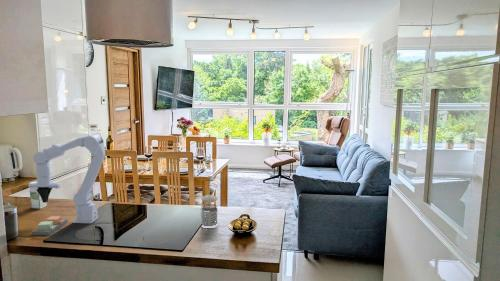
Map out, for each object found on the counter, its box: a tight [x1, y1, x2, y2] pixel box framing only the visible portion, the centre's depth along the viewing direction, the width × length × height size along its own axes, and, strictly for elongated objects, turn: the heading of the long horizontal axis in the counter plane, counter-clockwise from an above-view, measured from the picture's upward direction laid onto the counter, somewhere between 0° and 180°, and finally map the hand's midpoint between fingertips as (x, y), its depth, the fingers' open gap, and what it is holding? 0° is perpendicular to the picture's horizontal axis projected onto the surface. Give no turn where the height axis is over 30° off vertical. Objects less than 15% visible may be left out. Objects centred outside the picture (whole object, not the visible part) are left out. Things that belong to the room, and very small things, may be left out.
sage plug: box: [37, 220, 53, 231], centre depth 163 cm, size 5×4×4 cm
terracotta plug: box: [45, 215, 62, 225], centre depth 169 cm, size 5×4×4 cm
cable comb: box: [31, 218, 68, 236], centre depth 166 cm, size 8×16×2 cm, turn 179°
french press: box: [200, 175, 219, 226], centre depth 171 cm, size 10×12×25 cm
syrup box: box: [28, 180, 48, 210], centre depth 194 cm, size 6×6×14 cm
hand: (45, 201), depth 174 cm, fingers closed
